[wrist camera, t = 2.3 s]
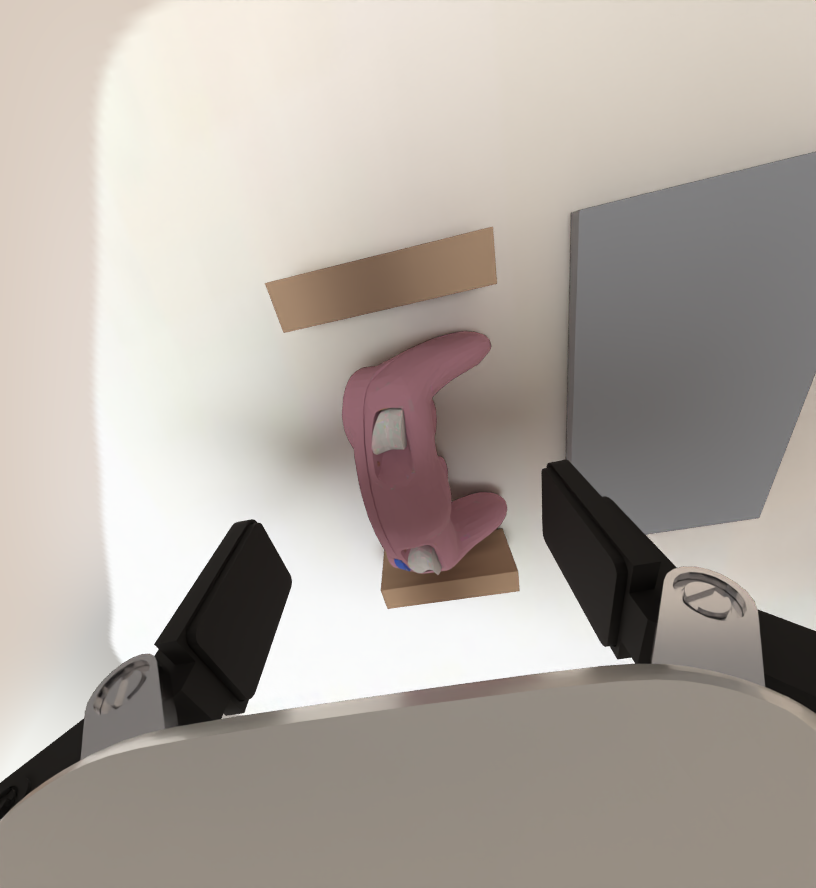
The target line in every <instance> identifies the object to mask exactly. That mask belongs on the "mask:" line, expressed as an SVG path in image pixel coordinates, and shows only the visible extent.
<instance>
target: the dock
mask: <svg viewBox="0 0 816 888" xmlns="http://www.w3.org/2000/svg"><path fill="white" fill-rule="evenodd" d="M494 284H497V277H496V264H495V250H494V236H493V227H489V228H485V229H481V230H477V231H473V232H469V233H465V234H461V235H457V236H453V237H449V238H445V239H441V240H437V241H433V242H429V243H425V244H421V245H417V246H413V247H409V248H405V249H401V250H397V251H393V252H389V253H385V254H381V255H377V256H373V257H368V258H364V259H360V260H356V261H352V262H348V263H344V264H340V265H336V266H332V267H328V268H324V269H320V270H316V271H312V272H308V273H304V274H300V275H296V276H292V277H288V278H284V279H280V280H276V281H272V282H268V283H265V285H266V287H267V290H268V293H269V295H270V298H271V301H272V303H273V306H274V309H275V311H276V314H277V317H278V319H279V322H280V324H281V327H282V330H283V332H284V333H286V332H290V331H294V330H299V329H303V328H307V327H312V326H316V325H320V324H325V323H329V322H333V321H338V320H342V319H346V318H351V317H355V316H359V315H364V314H368V313H372V312H377V311H381V310H385V309H390V308H394V307H398V306H403V305H407V304H411V303H416V302H420V301H424V300H429V299H433V298H437V297H442V296H446V295H450V294H455V293H459V292H463V291H468V290H472V289H476V288H481V287H485V286H489V285H494ZM516 591H520V590H519V576H518V569H517V567H516V564H515V561H514V559H513V556H512V553H511V550H510V548H509V545H508V542H507V540H506V537H505V534H504V531H503V529H497V530H494V531H493V532H492V533H491V534H490V535H489V536H487V537H486V538H484V539H483V540H482V541H480V542H479V543H478V544H476V545H475V546H474V547H473V548H472V549H471V550H470V551H468V552H467V553H466V555H465V556H464V557H463V558H462V559H461V560H460V561H459V562H458V563H457V564H456V565H455V566H454V567H452V568H451V569H449V570H447V571H441V572H440V573H439V575H437V574H436V573H435V572H433V573H424V574H421V573H416V572H412V571H406V570H403V569H398V568H395V567H393V566H392V565H391V564H390V562H389V560H388V558H387V554H386V551H385V550H384V560H383V571H382V583H381V593H382V595H383V598H384V600H385V603H386V606H387V608H388V609H391V608H398V607H405V606H413V605H420V604H427V603H435V602H442V601H450V600H457V599H464V598H472V597H479V596H487V595H494V594H501V593H509V592H516Z"/></svg>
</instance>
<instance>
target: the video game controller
mask: <svg viewBox="0 0 816 888" xmlns="http://www.w3.org/2000/svg"><path fill="white" fill-rule="evenodd" d="M490 349H491V343H490V340H489V339H488V337H487V336H485V335H483V334H480V333H477V332H467V331H462V332H456V333H451V334H447V335H443V336H440V337H436V338H433V339H430V340H428V341H425V342H423V343H421V344H419V345H416V346H414V347H412V348H409V349H407V350H406V351H404V352H402V353H400V354H398V355H396V356H394V357H392V358H391V359H389V360H387V361H385V362H383V363H381V364H379V365H378V366H371V367H364V368H361V369H359V370H358V371H356V372H355V373H354V374H353V375H352V376H351V377H350V379H349V381H348V383H347V385H346V388H345V392H344V397H343V409H342V418H343V426H344V430H345V433H346V436H347V438H348V440H349V442H350V444H351V445H352V447H353V449H354V456H355V463H356V469H357V475H358V481H359V486H360V490H361V494H362V498H363V501H364V505H365V508H366V511H367V514H368V517H369V520H370V522H371V524H372V527H373V529H374V531H375V534H376V536H377V538H378V539H379V541H380V543H381V545H382V547H383V548H384V550H385V551H386V554H387V558H388V560H389V562H390V564H391V565H392V566H393V567H395V568H398V569H403V570H406V571H412V572H416V573H421V574H424V573H433V572H435V573H436V574H437V575H439V573H440V572H441V571H447V570H449V569H451V568H452V567H454V566H455V565H456V564H457V563H458V562H459V561H460V560H461V559H462V558H463V557H464V556H465V555H466V553H467V552H468V551H470V550H471V549H472V548H473V547H474V546H475V545H476V544H478V543H479V542H480V541H482V540H483V539H484V538H486V537H487V536H489V535H490V534H491V533H492V532H493V531H494V530H495V529H496V528H498V527H499V526H500V525H501V524H502V522H503V520H504V518H505V516H506V512H507V505H506V501H505V500H504V498H502V497H501V496H499V495H497V494H494V493H492V492H491V493H488V492H479V493H475V494H471V495H468V496H465V497H462V498H459V499H457V500H455V501H453V502H451V490H450V485H449V482H448V470H447V465H446V462H445V460H444V458H443V457H441V456H438V455H437V451H436V446H435V438H434V436H435V432H436V423H437V417H436V408H435V405H434V402H433V400H432V398H433V396H434V395H435V394H436V393H437V392H438V391H439V390H440V389H441V388H443V387H444V386H445V385H446V384H448V383H449V382H450V381H451V380H453V379H454V378H456V377H458V376H459V375H461V374H463V373H464V372H466V371H468V370H469V369H471V368H473V367H474V366H476V365H478V364H479V363H480V362H481V361H482V360H483V358H484V357H485V356H486V355H487V354H488V352H489V351H490Z"/></svg>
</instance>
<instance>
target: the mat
mask: <svg viewBox="0 0 816 888" xmlns="http://www.w3.org/2000/svg"><path fill="white" fill-rule="evenodd" d="M815 373H816V152H812V153H808V154H804V155H800V156H796V157H792V158H788V159H784V160H780V161H776V162H772V163H768V164H764V165H760V166H756V167H752V168H748V169H744V170H740V171H736V172H731V173H727V174H723V175H719V176H715V177H711V178H707V179H703V180H699V181H695V182H691V183H687V184H683V185H679V186H675V187H671V188H667V189H663V190H659V191H655V192H651V193H646V194H642V195H638V196H634V197H630V198H626V199H622V200H618V201H614V202H610V203H606V204H602V205H598V206H594V207H590V208H586V209H582V210H578V211H576V212H573V213H571V257H570V302H569V348H568V394H567V440H566V460H568V461H570V462H571V463H572V465H573V466H574V467H575V468H576V469H577V470H578V471H579V472H580V473H581V474H582V475H583V477H584V478H585V479H586V480H587V481H588V482H589V483H590V484H591V485H592V486H593V487H594V489H595V490H596V491H597V492H598V493H599V494H600V495H601V496H602V497H603V496H606V497H609V498H610V499H612V500H613V501H614V502H615V503H616V504H617V505H618V506H619V507H620V509H621V510H622V511H623V512H624V513H625V514H626V515H627V516H628V517H629V518H630V519H631V520H632V521H633V522H634V523H635V524H636V525H637V526H638V527H639V529H640V530H641V531H642V532H643V533H644V534H645V535H647V534H653V533H660V532H667V531H674V530H681V529H687V528H694V527H701V526H708V525H715V524H721V523H728V522H735V521H742V520H749V519H756V518H759V517H760V515H761V512H762V509H763V507H764V504H765V502H766V499H767V497H768V494H769V491H770V489H771V486H772V484H773V481H774V479H775V476H776V473H777V471H778V468H779V466H780V463H781V461H782V458H783V455H784V453H785V450H786V448H787V445H788V443H789V440H790V437H791V435H792V432H793V430H794V427H795V425H796V422H797V419H798V417H799V414H800V412H801V409H802V406H803V404H804V401H805V399H806V396H807V394H808V391H809V388H810V386H811V383H812V381H813V378H814V376H815Z"/></svg>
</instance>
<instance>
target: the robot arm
mask: <svg viewBox="0 0 816 888" xmlns="http://www.w3.org/2000/svg"><path fill="white" fill-rule="evenodd" d="M542 526H543V536H544V539H545V542H546V544H547V546H548V548H549V549H550V551H551V553H552V555H553V557H554V559H555V560H556V562H557V564H558V566H559V568H560V569H561V571H562V573H563V575H564V577H565V579H566V580H567V582H568V584H569V586H570V588H571V589H572V591H573V593H574V595H575V597H576V599H577V600H578V602H579V604H580V606H581V608H582V609H583V611H584V613H585V615H586V617H587V619H588V620H589V622H590V624H591V626H592V628H593V629H594V631H595V633H596V635H597V637H598V639H599V640H600V642H601V643H602V645H603V646H605V647H606V646H610V647H611V649H612V651H613V653H614V654H615V656H616V658H617V659H624V658H631V657H632V659H633V661H634V662H635V664H625V665H610V666H598V667H589V668H581V669H573V670H564V671H556V672H547V673H539V674H531V675H524V676H516V677H509V678H502V679H495V680H487V681H480V682H473V683H465V684H458V685H451V686H444V687H436V688H429V689H422V690H415V691H408V692H401V693H394V694H387V695H380V696H373V697H366V698H359V699H352V700H345V701H339V702H332V703H325V704H318V705H311V706H304V707H298V708H291V709H284V710H278V711H271V712H264V713H257V714H251V715H244V716H237V717H231V718H225V719H221V718H222V715H223V713H224V714H225V715H226V716H227V715H234V714H241V713H244V712H245V709H246V707H247V704H248V701H249V699H251V698H252V697H253V695H254V694H255V692H256V689H257V686H258V683H259V680H260V677H261V674H262V671H263V668H264V665H265V662H266V660H267V657H268V654H269V651H270V648H271V645H272V642H273V639H274V636H275V633H276V630H277V627H278V624H279V621H280V618H281V615H282V612H283V610H284V607H285V604H286V601H287V598H288V595H289V592H290V589H291V585H292V579H291V575H290V573H289V572H288V570H287V568H286V566H285V565H284V563H283V561H282V559H281V557H280V556H279V554H278V552H277V550H276V549H275V547H274V545H273V543H272V541H271V540H270V538H269V536H268V534H267V533H266V531H265V529H264V527H263V525H262V524H261V523H257V522H256V521H255V520H252V519H251V520H246V521H241V522H236V523H234V524H233V525H232V527H231V528H230V530H229V531H228V533H227V534H226V536H225V537H224V539H223V540H222V542H221V543H220V545H219V546H218V548H217V550H216V551H215V553H214V554H213V556H212V557H211V559H210V560H209V562H208V563H207V565H206V566H205V568H204V569H203V571H202V572H201V574H200V575H199V577H198V578H197V580H196V582H195V583H194V585H193V586H192V588H191V589H190V591H189V592H188V594H187V595H186V597H185V598H184V600H183V601H182V603H181V604H180V606H179V607H178V609H177V610H176V612H175V613H174V615H173V617H172V618H171V620H170V621H169V623H168V624H167V626H166V627H165V629H164V630H163V632H162V633H161V635H160V636H159V638H158V639H157V641H156V642H155V644H154V645H155V646H156V647H157V648H158V649H159V650H158V651H157V653H156V655H155V656H153V655H151V654H141V655H138V656H136V657H133V658H131V659H129V660H128V661H126V662H124V663H122V664H121V665H120V666H119V667H117V668H116V669H115V670H113V671H112V672H111V673H110V674H109V675H108V676H107V677H106V678H105V679H104V680H103V681H102V682H101V683H100V685H99V686H98V687H97V688H96V690H95V691H94V692H93V694H92V696H91V698H90V699H89V701H88V703H87V706H86V710H85V717H84V719H83V720H81V721H80V722H79V723H77V724H76V725H75V726H74V727H72V728H71V729H70V730H68V731H67V732H66V733H64V734H63V735H62V736H61V737H59V738H58V739H57V740H55V741H54V742H53V743H52V744H50V745H49V746H47V747H46V748H45V749H44V750H42V751H41V752H40V753H39V754H37V755H36V756H34V757H33V758H32V759H31V760H29V761H28V762H27V763H25V764H24V765H23V766H22V767H20V768H19V769H18V770H16V771H15V772H14V773H12V774H11V775H10V776H9V777H7V778H6V779H5V780H3V781H2V782H1V783H0V888H816V631H814V630H811V629H808V628H806V627H803V626H800V625H798V624H795V623H792V622H790V621H787V620H784V619H782V618H779V617H776V616H774V615H771V614H768V613H766V612H763V611H760V610H758V609H757V607H756V604H755V601H754V600H753V599H752V597H751V596H750V595H749V594H748V592H747V591H746V590H745V589H743V588H742V587H741V586H740V585H738V584H737V583H736V582H734V581H733V580H731V579H729V578H727V577H726V576H724V575H722V574H719V573H717V572H714V571H711V570H709V569H704V568H699V567H684V566H683V567H679V568H676V567H675V565H674V564H673V563H672V562H671V561H670V560H669V559H668V558H667V557H666V556H665V555H664V554H663V553H662V552H661V551H660V550H659V549H658V548H657V546H656V545H655V544H654V543H653V542H652V541H651V540H650V539H649V538H648V537H647V536H646V535H645V534H644V533H643V532H642V531H641V530H640V529H639V527H638V526H637V525H636V524H635V523H634V522H633V521H632V520H631V519H630V518H629V517H628V516H627V515H626V514H625V513H624V512H623V511H622V510H621V509H620V507H619V506H618V505H617V504H616V503H615V502H614V501H613V500H612V499H610V498H609V497H606V496H603V497H602V496H601V495H600V494H599V493H598V492H597V491H596V490H595V489H594V487H593V486H592V485H591V484H590V483H589V482H588V481H587V480H586V479H585V478H584V477H583V475H582V474H581V473H580V472H579V471H578V470H577V469H576V468H575V467H574V466H573V465H572V463H571V462H570V461H568V460H562V461H556V462H551V463H548V464H547V468H544V469H542Z"/></svg>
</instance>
